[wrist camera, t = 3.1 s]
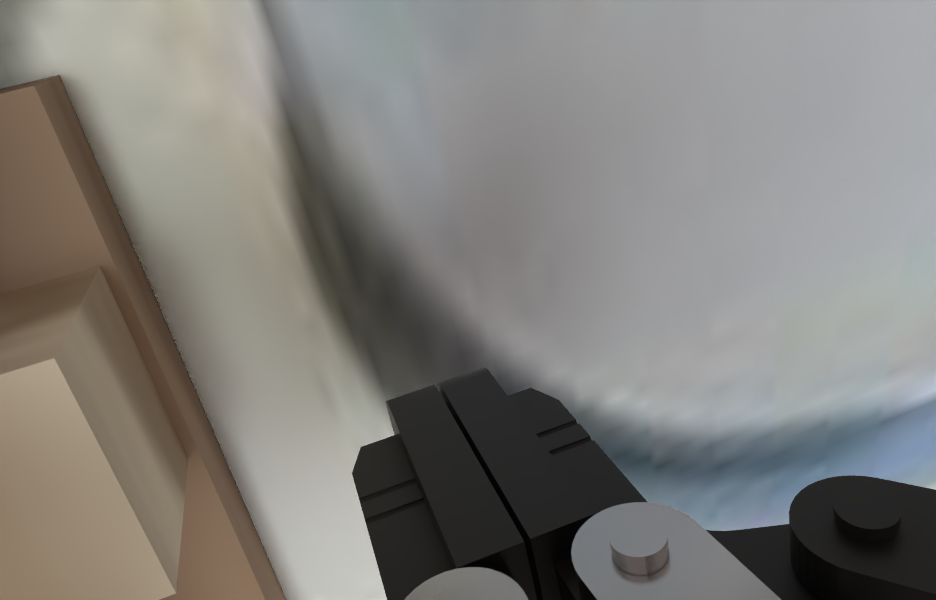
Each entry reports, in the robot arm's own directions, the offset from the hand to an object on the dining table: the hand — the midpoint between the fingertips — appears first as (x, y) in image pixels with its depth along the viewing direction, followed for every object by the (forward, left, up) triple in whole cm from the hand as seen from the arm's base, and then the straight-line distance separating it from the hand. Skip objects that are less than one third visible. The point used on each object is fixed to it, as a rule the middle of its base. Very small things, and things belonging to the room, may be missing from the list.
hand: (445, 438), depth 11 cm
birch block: (+7, 0, -5) cm, 9 cm away
